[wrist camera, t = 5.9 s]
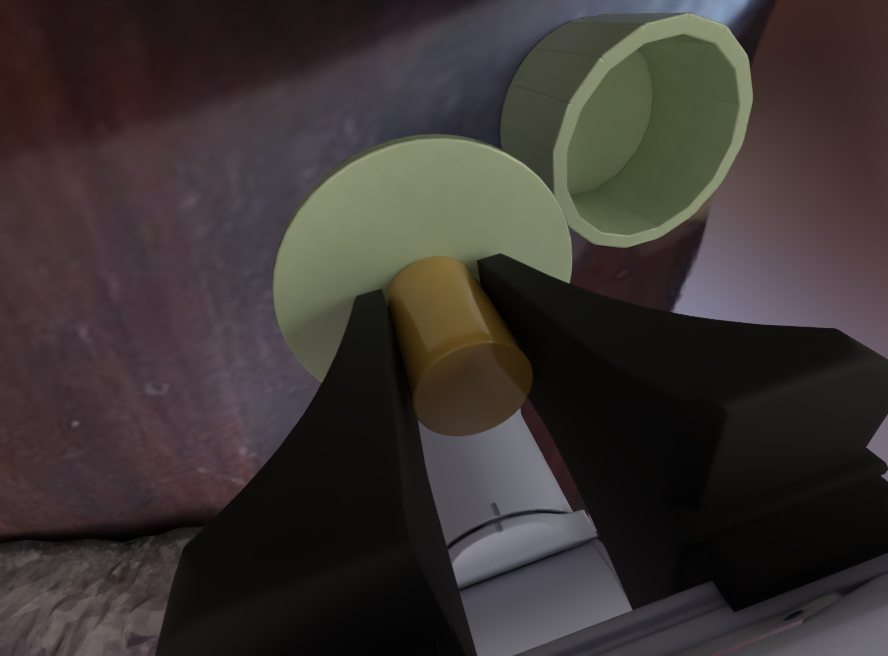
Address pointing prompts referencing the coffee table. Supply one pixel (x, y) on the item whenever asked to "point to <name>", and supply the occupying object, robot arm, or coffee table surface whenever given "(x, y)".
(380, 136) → the coffee table surface
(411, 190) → the lid
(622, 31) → the tin
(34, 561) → the geode
